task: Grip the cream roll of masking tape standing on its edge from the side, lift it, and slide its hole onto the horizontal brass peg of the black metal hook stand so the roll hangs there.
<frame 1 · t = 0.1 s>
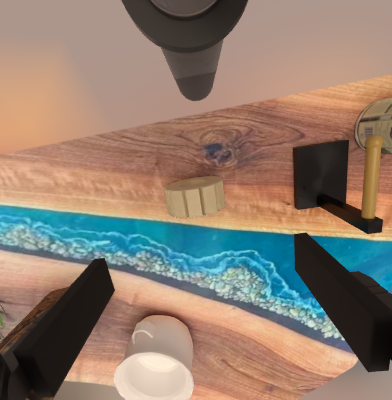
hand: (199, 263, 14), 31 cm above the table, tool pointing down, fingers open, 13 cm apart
coffee can: (380, 126, 41), on the table
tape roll: (194, 195, 40), point 5 cm above the table
hook stand: (318, 175, 44), on the table
pot: (163, 332, 57), on the table
book: (83, 292, 54), on the table
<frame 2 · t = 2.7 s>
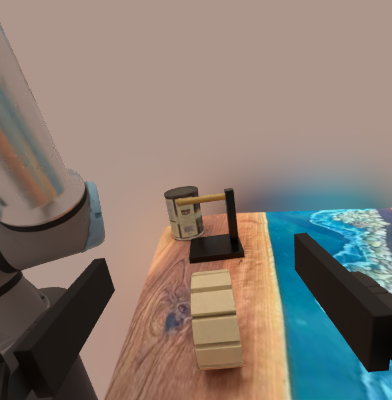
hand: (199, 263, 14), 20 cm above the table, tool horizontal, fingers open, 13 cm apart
coffee can: (188, 233, 66), on the table
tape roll: (215, 314, 28), point 5 cm above the table
hook stand: (215, 249, 54), on the table
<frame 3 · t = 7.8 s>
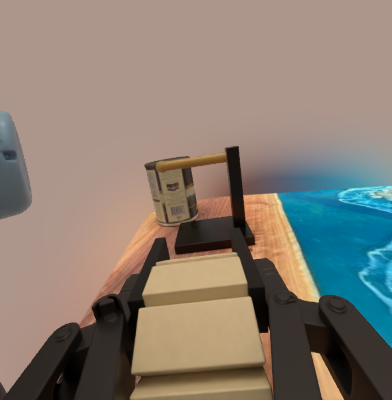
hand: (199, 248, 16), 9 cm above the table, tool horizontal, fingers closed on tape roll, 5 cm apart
coffee can: (178, 218, 51), on the table
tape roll: (208, 352, 12), point 5 cm above the table, touching gripper
hook stand: (213, 235, 39), on the table
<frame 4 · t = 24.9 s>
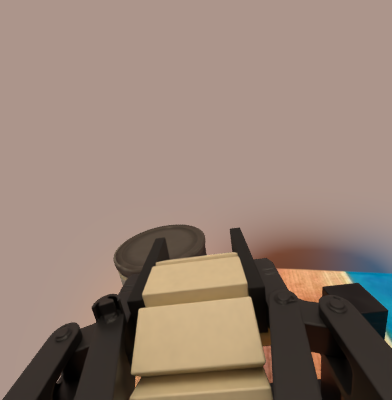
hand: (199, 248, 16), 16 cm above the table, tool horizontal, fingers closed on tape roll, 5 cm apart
coffee can: (181, 338, 28), on the table
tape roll: (208, 352, 12), point 13 cm above the table, touching gripper
when the fingers open (18 cm above the table, at t = 25.3 s): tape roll drops 2 cm, resting on hook stand.
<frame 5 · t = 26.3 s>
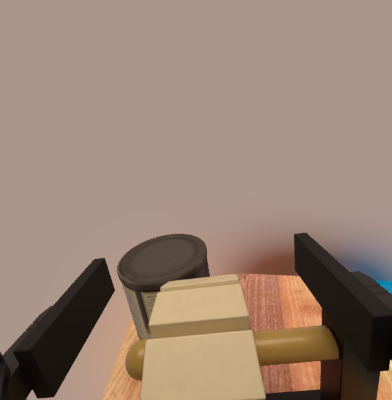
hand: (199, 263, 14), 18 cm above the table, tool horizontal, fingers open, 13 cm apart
coffee can: (183, 346, 28), on the table
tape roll: (211, 374, 13), point 12 cm above the table, touching hook stand
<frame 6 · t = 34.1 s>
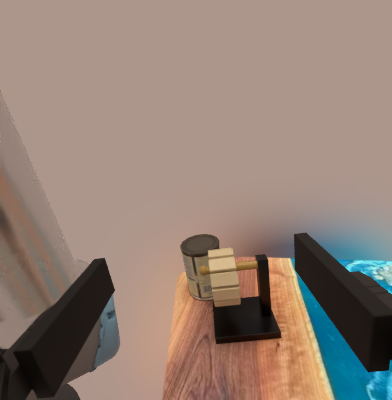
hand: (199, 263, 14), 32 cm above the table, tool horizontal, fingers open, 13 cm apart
coffee can: (206, 287, 59), on the table
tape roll: (223, 275, 43), point 12 cm above the table, touching hook stand
hook stand: (243, 320, 47), on the table
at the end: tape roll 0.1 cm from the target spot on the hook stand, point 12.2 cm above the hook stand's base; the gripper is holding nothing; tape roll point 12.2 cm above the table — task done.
